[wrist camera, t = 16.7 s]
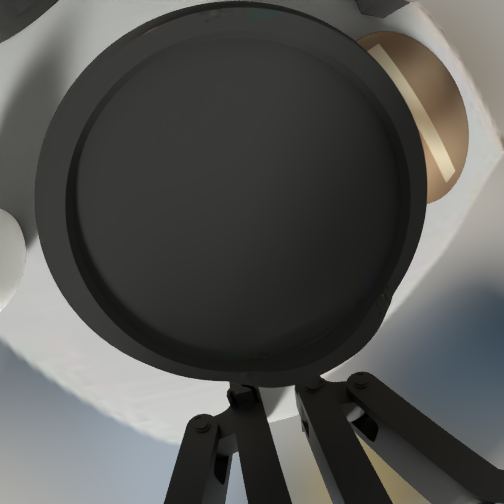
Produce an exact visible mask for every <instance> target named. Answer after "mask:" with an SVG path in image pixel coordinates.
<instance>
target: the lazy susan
mask: <svg viewBox="0 0 504 504" xmlns="http://www.w3.org/2000/svg"><path fill="white" fill-rule="evenodd" d="M356 42H357V43H358V44H359V45H360V46H362V47H363V48H364V49H365V50H366V51H367V52H368V53H369V54H370V55H371V56H372V57H373V58H374V59H375V60H376V61H377V62H378V63H379V64H380V65H381V66H382V67H383V69H384V70H385V71H386V72H387V74H388V75H389V76H390V78H391V79H392V80H393V82H394V83H395V85H396V86H397V88H398V90H399V91H400V93H401V94H402V96H403V98H404V99H405V101H406V103H407V105H408V107H409V109H410V111H411V113H412V115H413V118H414V120H415V123H416V125H417V128H418V131H419V134H420V137H421V141H422V145H423V149H424V154H425V160H426V168H427V204H428V203H431V202H434V201H436V200H438V199H440V198H442V197H443V196H444V195H445V194H447V193H448V192H449V191H450V190H451V189H452V187H453V186H454V185H455V183H456V182H457V180H458V179H459V177H460V175H461V173H462V170H463V167H464V165H465V161H466V157H467V152H468V142H469V130H468V120H467V114H466V110H465V106H464V102H463V99H462V96H461V94H460V91H459V89H458V87H457V85H456V83H455V81H454V79H453V77H452V76H451V74H450V73H449V71H448V69H447V68H446V67H445V66H444V64H443V63H442V62H441V61H440V59H439V58H438V57H437V56H436V55H435V54H434V53H433V52H432V51H430V50H429V49H428V48H427V47H426V46H424V45H423V44H421V43H420V42H418V41H416V40H415V39H413V38H411V37H408V36H406V35H404V34H400V33H396V32H388V31H384V32H376V33H372V34H369V35H367V36H365V37H363V38H361V39H360V40H358V41H356Z"/></svg>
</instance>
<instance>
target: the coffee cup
mask: <svg viewBox="0 0 504 504" xmlns="http://www.w3.org/2000/svg"><path fill="white" fill-rule="evenodd" d="M426 206H427V168H426V160H425V154H424V149H423V145H422V141H421V137H420V134H419V131H418V128H417V125H416V123H415V120H414V118H413V115H412V113H411V111H410V109H409V107H408V105H407V103H406V101H405V99H404V98H403V96H402V94H401V93H400V91H399V90H398V88H397V86H396V85H395V83H394V82H393V80H392V79H391V78H390V76H389V75H388V74H387V72H386V71H385V70H384V69H383V67H382V66H381V65H380V64H379V63H378V62H377V61H376V60H375V59H374V58H373V57H372V56H371V55H370V54H369V53H368V52H367V51H366V50H365V49H364V48H363V47H362V46H360V45H359V44H358V43H357V42H355V41H354V40H353V39H352V38H350V37H349V36H347V35H346V34H344V33H343V32H341V31H340V30H338V29H336V28H335V27H333V26H331V25H329V24H328V23H326V22H324V21H322V20H319V19H317V18H315V17H313V16H310V15H308V14H305V13H302V12H300V11H297V10H293V9H290V8H286V7H282V6H278V5H273V4H267V3H259V2H247V1H226V2H214V3H206V4H200V5H195V6H191V7H187V8H183V9H179V10H176V11H173V12H170V13H167V14H165V15H162V16H160V17H157V18H155V19H153V20H150V21H148V22H146V23H144V24H142V25H140V26H139V27H137V28H135V29H133V30H132V31H130V32H128V33H127V34H125V35H124V36H122V37H121V38H119V39H118V40H117V41H115V42H114V43H113V44H111V45H110V46H109V47H108V48H106V49H105V50H104V51H103V52H102V53H101V54H99V55H98V56H97V57H96V58H95V59H94V60H93V61H92V62H91V63H90V64H89V65H88V66H87V67H86V68H85V70H84V71H83V72H82V73H81V74H80V75H79V77H78V78H77V79H76V80H75V82H74V83H73V84H72V86H71V87H70V89H69V90H68V92H67V93H66V95H65V96H64V98H63V99H62V101H61V103H60V105H59V106H58V108H57V110H56V112H55V114H54V116H53V118H52V121H51V123H50V125H49V128H48V130H47V133H46V136H45V138H44V142H43V145H42V148H41V152H40V156H39V161H38V166H37V173H36V182H35V214H36V223H37V229H38V235H39V239H40V243H41V247H42V251H43V254H44V257H45V260H46V262H47V265H48V268H49V270H50V272H51V274H52V276H53V278H54V281H55V282H56V284H57V286H58V288H59V289H60V291H61V293H62V294H63V296H64V297H65V299H66V300H67V302H68V303H69V305H70V306H71V307H72V309H73V310H74V311H75V312H76V313H77V315H78V316H79V317H80V318H81V319H82V320H83V321H84V322H85V323H86V324H87V325H88V326H89V327H90V328H91V329H92V330H93V331H94V332H95V333H96V334H98V335H99V336H100V337H101V338H102V339H104V340H105V341H106V342H108V343H109V344H110V345H112V346H113V347H115V348H117V349H118V350H120V351H121V352H123V353H125V354H127V355H129V356H130V357H132V358H134V359H136V360H139V361H141V362H143V363H145V364H148V365H150V366H152V367H155V368H157V369H160V370H163V371H166V372H169V373H172V374H176V375H180V376H184V377H188V378H194V379H201V380H211V381H230V382H235V383H238V384H244V385H250V386H255V387H263V388H280V387H288V386H293V385H297V384H300V383H303V382H306V381H308V380H311V379H313V378H315V377H317V376H320V375H322V374H324V373H326V372H328V371H330V370H331V369H333V368H335V367H337V366H338V365H340V364H342V363H343V362H345V361H346V360H348V359H349V358H351V357H352V356H354V355H355V354H356V353H358V352H359V351H360V350H361V349H362V348H363V347H364V346H365V345H366V344H367V343H368V342H369V341H370V340H371V339H372V337H373V336H374V335H375V333H376V332H377V330H378V329H379V327H380V325H381V324H382V321H383V319H384V317H385V315H386V312H387V310H388V308H389V306H390V303H391V300H392V296H393V294H394V293H395V291H396V289H397V288H398V286H399V284H400V283H401V281H402V279H403V277H404V276H405V274H406V272H407V270H408V268H409V266H410V264H411V261H412V259H413V257H414V254H415V252H416V249H417V246H418V243H419V240H420V237H421V233H422V229H423V224H424V220H425V213H426Z"/></svg>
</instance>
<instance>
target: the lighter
mask: <svg viewBox="0 0 504 504" xmlns="http://www.w3.org/2000/svg"><path fill="white" fill-rule="evenodd" d="M414 1H418V0H357V3H358V6H359V8H360V11H361V14H367V15H372V16H376V17H381V18H384V17H386V16H388V15H389V14H391V13H393V12H394V11H396V10H398V9H400V8H401V7H403V6H405V5H407V4H409V2H414Z"/></svg>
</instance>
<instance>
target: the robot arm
mask: <svg viewBox="0 0 504 504" xmlns="http://www.w3.org/2000/svg"><path fill="white" fill-rule="evenodd" d="M56 1H57V0H0V43H1V42H3V41H5V40H7V39H9V38H10V37H12V36H14V35H15V34H17V33H18V32H20V31H21V30H23V29H24V28H25V27H27V26H28V25H29V24H31V23H32V22H33V21H34V20H36V19H37V18H38V17H39V16H40V15H42V14H43V13H44V12H45V11H46V10H47V9H49V8H50V7H51V6H52V5H53V4H54V3H55V2H56ZM229 383H230V388H229V390H228V391H227V398H228V400H229V403H230V406H229V408H228V409H227V410H226V411H224V412H223V413H221V414H219V415H216V416H214V417H213V416H211V415H208V414H200V415H197V416H195V417H193V418H192V419H191V420H189V422H188V424H187V427H186V430H185V433H184V437H183V440H182V443H181V447H180V450H179V454H178V457H177V460H176V464H175V467H174V470H173V474H172V477H171V481H170V484H169V488H168V491H167V494H166V498H165V501H164V504H225V501H226V494H227V488H228V481H229V475H230V468H231V462H232V455H233V453H235V452H237V451H238V452H239V457H240V463H241V468H242V473H243V479H244V484H245V489H246V495H247V499H248V504H292V502H291V499H290V495H289V492H288V489H287V486H286V482H285V479H284V476H283V473H282V469H281V466H280V462H279V459H278V455H277V452H276V449H275V445H274V442H273V438H272V435H271V431H270V428H269V424H268V423H270V422H274V421H277V420H282V419H285V418H288V417H293V416H296V415H298V412H299V414H300V417H301V424H302V431H304V432H305V434H306V437H307V439H308V442H309V444H310V447H311V450H312V452H313V454H314V457H315V460H316V462H317V465H318V467H319V470H320V472H321V475H322V478H323V480H324V482H325V485H326V488H327V490H328V493H329V495H330V498H331V500H332V503H333V504H393V503H392V501H391V499H390V497H389V496H388V494H387V492H386V490H385V488H384V487H383V484H382V483H381V481H380V479H379V477H378V475H377V473H376V471H375V470H374V468H373V466H372V464H371V462H370V460H369V458H368V457H367V455H366V453H365V451H364V449H363V447H362V446H361V444H360V442H359V440H358V438H357V436H356V434H357V435H358V436H359V437H360V438H361V439H362V440H364V441H365V442H366V444H368V445H369V446H370V447H371V448H372V449H373V450H374V451H375V452H376V453H377V454H378V455H379V456H380V457H381V458H382V459H383V460H384V461H385V462H386V463H387V464H388V465H389V466H390V467H391V468H393V469H394V470H395V471H396V472H397V473H398V474H399V475H400V476H401V477H402V478H403V479H404V480H405V481H407V482H408V483H409V484H410V485H411V486H412V487H413V488H415V489H416V490H417V491H418V492H419V493H420V494H421V495H422V496H423V497H425V498H426V499H427V500H428V501H429V502H430V503H431V504H504V470H500V469H497V468H496V467H495V466H493V465H492V464H490V463H489V462H488V461H486V460H485V459H483V458H482V457H481V456H479V455H478V454H477V453H475V452H474V451H472V450H471V449H470V448H468V447H467V446H466V445H464V444H463V443H461V442H460V441H459V440H457V439H456V438H454V437H453V436H452V435H451V434H449V433H448V432H447V431H445V430H444V429H443V428H441V427H440V426H438V425H437V424H436V423H435V422H433V421H432V420H431V419H429V418H428V417H427V416H425V415H424V414H422V413H421V412H420V411H419V410H417V409H416V408H415V407H414V406H412V405H411V404H410V403H408V402H407V401H406V400H404V399H403V398H402V397H400V396H399V395H398V394H397V393H395V392H394V391H393V390H391V389H390V388H389V387H388V386H386V385H385V384H384V383H382V382H381V381H380V380H379V379H377V378H376V377H375V376H373V375H372V374H370V373H368V372H357V373H354V374H352V375H351V376H350V377H349V378H348V379H347V381H344V382H329V381H326V380H325V379H323V378H321V377H320V376H317V377H315V378H313V379H311V380H308V381H306V382H303V383H300V384H297V385H293V386H288V387H280V388H263V387H255V386H250V385H244V384H238V383H235V382H230V381H229ZM354 432H355V433H356V434H355V433H354Z"/></svg>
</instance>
